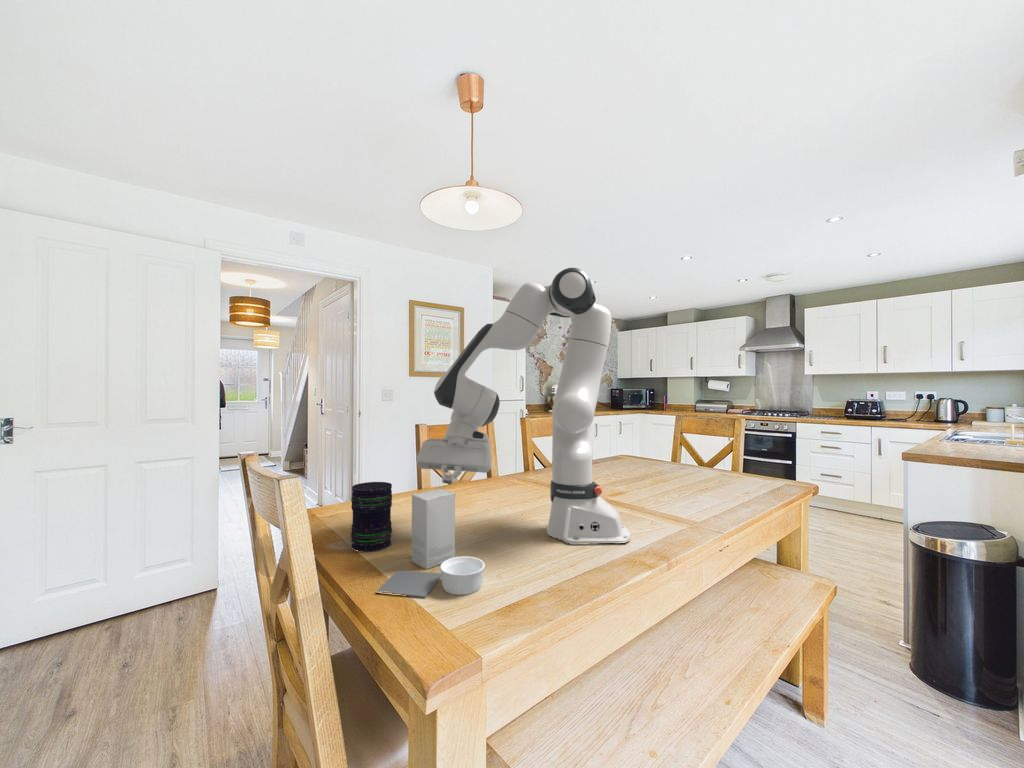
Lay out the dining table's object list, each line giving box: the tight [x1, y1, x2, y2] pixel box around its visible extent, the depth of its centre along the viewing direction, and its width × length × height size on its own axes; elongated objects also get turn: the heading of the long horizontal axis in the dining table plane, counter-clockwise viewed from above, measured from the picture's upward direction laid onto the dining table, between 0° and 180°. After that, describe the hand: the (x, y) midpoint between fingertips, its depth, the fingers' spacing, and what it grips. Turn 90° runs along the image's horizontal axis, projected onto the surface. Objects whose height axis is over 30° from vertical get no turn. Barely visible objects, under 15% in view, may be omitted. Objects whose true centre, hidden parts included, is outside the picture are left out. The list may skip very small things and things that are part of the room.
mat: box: [376, 569, 442, 599], centre depth 84 cm, size 10×10×1 cm
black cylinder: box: [350, 481, 393, 553], centre depth 106 cm, size 10×10×15 cm
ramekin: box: [439, 555, 486, 596], centre depth 84 cm, size 9×9×4 cm
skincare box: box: [411, 488, 456, 570], centre depth 96 cm, size 8×7×16 cm
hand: (447, 482), depth 108 cm, fingers closed
